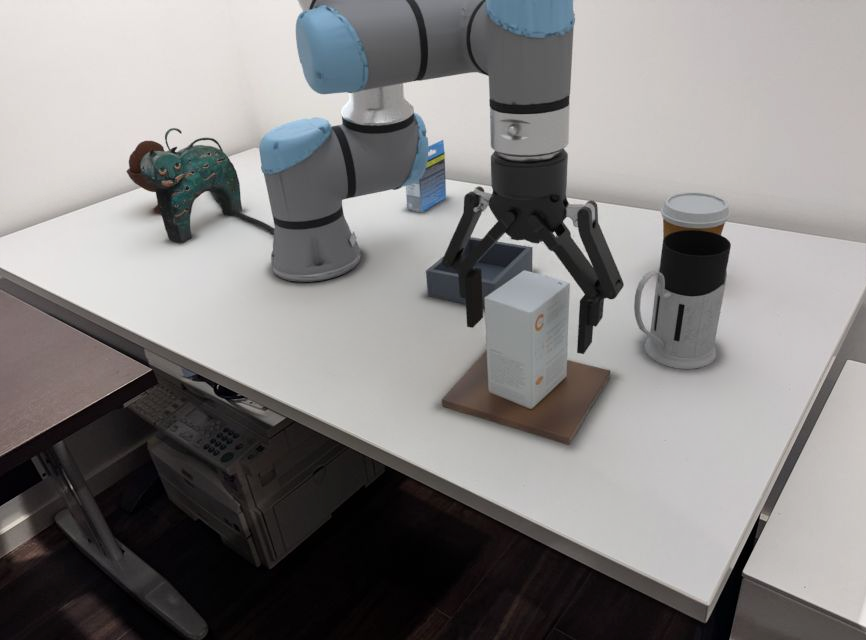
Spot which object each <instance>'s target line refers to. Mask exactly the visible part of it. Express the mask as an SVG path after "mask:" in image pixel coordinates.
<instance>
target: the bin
mask: <svg viewBox="0 0 866 640" xmlns="http://www.w3.org/2000/svg"><path fill="white" fill-rule="evenodd" d="M482 239H483V238H480V237H472V236H471V237H470V239H469V241H468V243H467V245H466V247H465V249H464V252H463V254H462V256H464V257H465V258H466V256H467V255H468V254H469V253H470V252H471V251H472V250H473V249H474V248H475V247H476V245H477V244H478V243H479V242H480V241H481V240H482ZM533 249H534V248H533V247H532V246H527V245H521V244H515V243H511V242H510V243H509V242H503V241H499V240H498V241H497V242H496V243H495V244H494V245H493V246H492V247H491V248H490V249H489V251H488V252H487V253H486V254H485V255H484V256H483V257H482V258H481V259H480V260H479V261H478V262H477V264H476V265H475V266H473V270H474V269H475V268H479V269H481V274H482V303H483V309H485V299H484V298H485V297H486V296H488V295H489V294H490V293H492V292H493V291H495V290H496V289H498V288H499V287H501V286H502V285H503V284H505V283H506V282H508V281H509V280H511V279H512V278H514V277H515V276H516V275H518V274H519V273H521V272H522V271H524V270H525V271H529V272H533V254H534V253H533V252H534V251H533ZM443 257H444V255H443V256H442V257H440V259H438V260H437V261H436V262H435V263H433V264H432V265H431V266H429V267H428V268H426V270H425V276H426V287H427V297H431V298H434V299H440V300H445V301H450V302H453V303H459V304H464V305H466V299H464V298H461V296H460V294H459V277H458V274H457V272H456V270H454V269H453V268H451V267H449V268H446V267H444V266H443V264H442V260H443Z"/></svg>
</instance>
